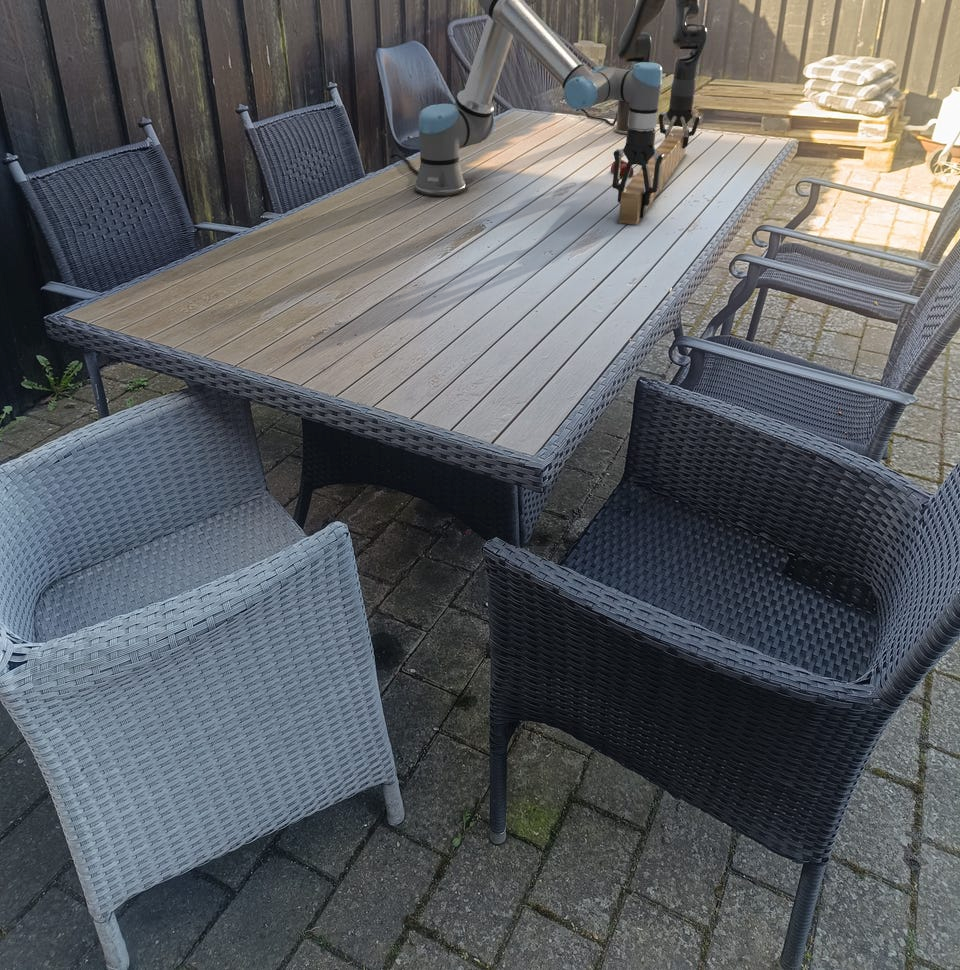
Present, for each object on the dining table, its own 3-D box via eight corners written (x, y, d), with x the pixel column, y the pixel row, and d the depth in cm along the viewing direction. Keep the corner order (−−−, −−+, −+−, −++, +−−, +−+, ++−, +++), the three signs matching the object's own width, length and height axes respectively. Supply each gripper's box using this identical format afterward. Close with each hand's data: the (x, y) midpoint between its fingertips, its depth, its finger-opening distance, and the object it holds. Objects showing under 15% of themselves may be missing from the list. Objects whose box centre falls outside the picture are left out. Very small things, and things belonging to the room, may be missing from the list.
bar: (636, 224, 232) (639, 194, 227) (618, 222, 233) (621, 192, 229) (684, 154, 291) (688, 129, 287) (670, 153, 293) (673, 128, 288)
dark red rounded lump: (625, 156, 273) (635, 163, 267) (625, 169, 276) (634, 176, 269) (609, 158, 272) (618, 165, 266) (608, 171, 275) (618, 178, 268)
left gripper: (678, 127, 224) (666, 215, 237) (611, 122, 229) (604, 207, 242) (673, 134, 218) (661, 223, 232) (605, 128, 223) (597, 215, 237)
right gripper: (706, 92, 276) (698, 146, 286) (663, 89, 280) (656, 142, 290) (703, 97, 271) (695, 152, 280) (658, 93, 275) (652, 148, 285)
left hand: (632, 215), depth 237 cm, fingers closed on bar, 5 cm apart
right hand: (675, 147), depth 285 cm, fingers closed on bar, 5 cm apart
